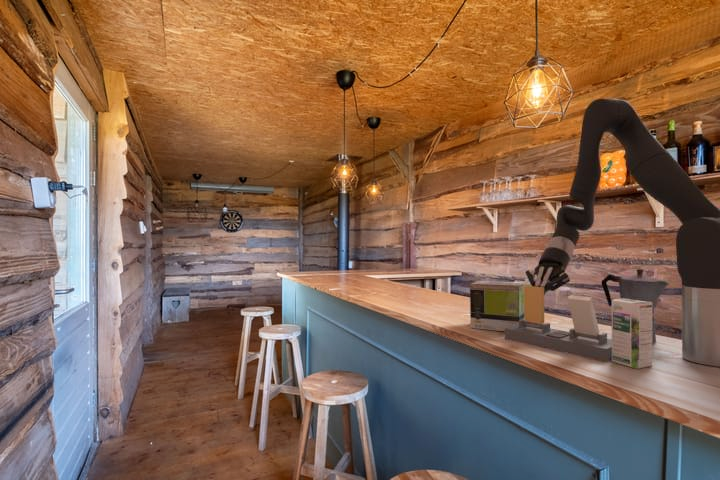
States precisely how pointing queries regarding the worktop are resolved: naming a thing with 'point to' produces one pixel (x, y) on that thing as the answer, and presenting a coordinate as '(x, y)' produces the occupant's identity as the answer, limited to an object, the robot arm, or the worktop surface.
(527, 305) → the toggle
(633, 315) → the syrup box
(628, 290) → the moka pot
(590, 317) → the toggle
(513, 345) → the worktop surface
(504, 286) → the tea box
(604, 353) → the toggle switch base
